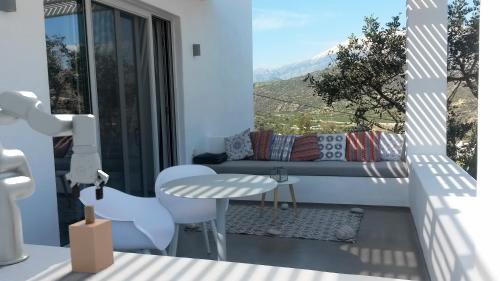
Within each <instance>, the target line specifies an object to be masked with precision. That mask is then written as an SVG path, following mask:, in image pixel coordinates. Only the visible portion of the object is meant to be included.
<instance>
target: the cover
mask: <svg viewBox="0 0 500 281" xmlns="http://www.w3.org/2000/svg"><path fill="white" fill-rule="evenodd" d="M83 207H84V219H83V220H81V221H78V222H75V223H73V224H70V225H68V234H69V235H68V236H69V248H70V249H69V250H70V262H71V263H70V264H71V271H72V272H74V273H75V272H79V273H86V274H87V273H88V274H97V273H99V272H101V271H102V270H104V269H106V268H108V267H110V266H111V265H113V264H115V257H114V244H113V228H112V219H105V218H101V219H100V218H96V216H95V205H94V204H88V205H87V204H86V205H84V206H83Z"/></svg>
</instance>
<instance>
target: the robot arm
mask: <svg viewBox="0 0 500 281" xmlns="http://www.w3.org/2000/svg"><path fill="white" fill-rule="evenodd" d="M22 120H23V121H25V122H27V124H28V126H29V127H30V128H31V129H32V130H34V131H35V132H37V133H39V134H41V135H44V136H47V137H53V138H55V137H68V136H72V139H73V140H72V141H73V142H72V143H73V146H72V147H71V151H73V154H71V159H70V170H69V172H68V173H65V174H64V175H65V179H66V181H67V184H69V186H70V188H71V192H72V193H71V194H72V200H74V199H78V198H81V187H80V184H90V185H91V184H93V185H94V186H95V189H94V190H95V192H94V193H95V200H96V201H101V200H103V199H104V188H105V186H106V185H107V183H108V181H109V177H110V175H108V174H107V173H105V172H104V171H102V164H101V163H102V162H101V158H100V156H99V153H98V147H97V146H98V144H97V125H96V124H97V122H96V117H95V115H93V114H72V113H64V114H63V113H61V114H52V113H49V112H46V110H45V105H44V103H43V102H42V101H41V100H39V99H38V97H37V95H35V93H33V92H32V91H28V90H17V89H16V90H15V89H14V90H13V89H12V90H11V89H8V90H4V91H1V93H0V126H8V125H9V126H10V125H13V124H15V123H18V122H19V121H22ZM7 174H9V175H10V176H5V177H4V176H3V177H0V266H7V265H12V264H14V265H15V264H18V263H20V262H24V261H25V260H27V259H28V258H29V256H30V255H29V252H27V251H25V250H24V248H25V246H24V236H23V222H22V213H21V209H20V207H19V205H18V204H17V203H16V202H15V201H19V200H22V199H26V198H29V197H31V196H32V195H33V194H34V193H35V191H36V182H35V179H34V176H33V173H32V170H31V167H30V164H29V161H28V159H27V157H26V154H24V152H22V150H20V149H17V148H5V147H4V146H3V144H2V139H0V176H2V175H7Z"/></svg>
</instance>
